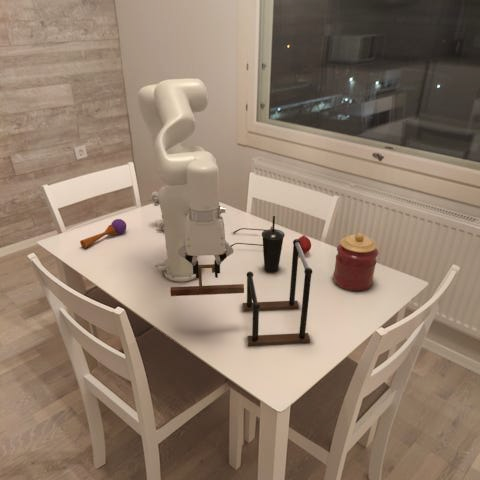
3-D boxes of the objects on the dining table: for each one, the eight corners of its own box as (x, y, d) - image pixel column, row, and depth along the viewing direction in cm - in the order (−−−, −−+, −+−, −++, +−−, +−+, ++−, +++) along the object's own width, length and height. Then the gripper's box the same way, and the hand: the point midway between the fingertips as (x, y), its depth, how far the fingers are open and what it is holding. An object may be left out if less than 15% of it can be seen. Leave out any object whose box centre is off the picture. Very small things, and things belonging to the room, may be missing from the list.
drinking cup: (280, 275, 152) (284, 222, 141) (258, 273, 153) (260, 220, 142) (283, 264, 158) (286, 212, 147) (262, 262, 159) (264, 210, 149)
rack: (248, 346, 121) (249, 273, 108) (242, 305, 137) (242, 238, 124) (309, 342, 122) (318, 270, 110) (296, 303, 138) (302, 236, 126)
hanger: (170, 296, 121) (168, 268, 116) (171, 293, 122) (168, 265, 117) (244, 293, 122) (244, 265, 117) (243, 289, 124) (243, 262, 119)
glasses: (270, 252, 166) (271, 240, 163) (227, 249, 168) (226, 237, 166) (274, 236, 178) (274, 224, 175) (233, 233, 180) (233, 221, 177)
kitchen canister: (347, 267, 157) (354, 221, 147) (379, 281, 149) (389, 233, 139) (325, 281, 149) (330, 233, 140) (358, 296, 141) (366, 247, 132)
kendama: (75, 236, 168) (117, 216, 180) (81, 250, 171) (122, 229, 183) (84, 238, 164) (126, 217, 176) (90, 252, 167) (131, 231, 179)
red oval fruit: (293, 250, 167) (294, 231, 163) (308, 250, 168) (310, 230, 163) (296, 258, 162) (297, 238, 158) (311, 257, 163) (313, 238, 158)
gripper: (237, 205, 113) (237, 267, 123) (170, 207, 112) (175, 269, 122) (239, 217, 107) (239, 281, 117) (168, 219, 105) (174, 284, 115)
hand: (206, 275), depth 119 cm, fingers closed on hanger, 4 cm apart
